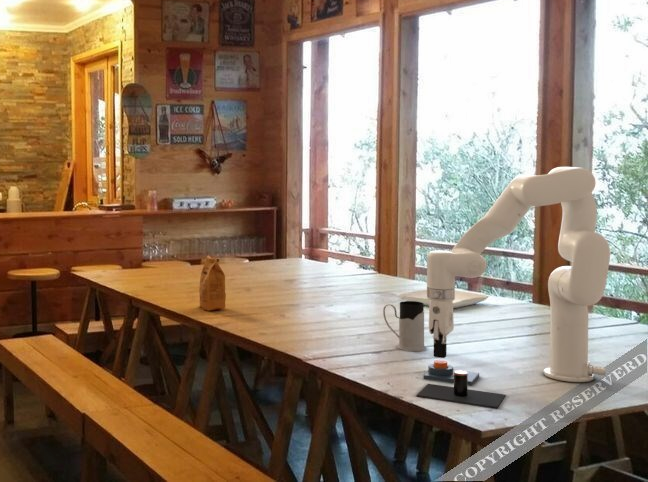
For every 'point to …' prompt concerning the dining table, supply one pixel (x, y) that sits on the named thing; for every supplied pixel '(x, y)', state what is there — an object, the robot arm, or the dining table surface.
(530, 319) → the dining table surface
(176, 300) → the dining table surface
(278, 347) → the dining table surface
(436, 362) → the button
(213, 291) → the coffee package
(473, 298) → the square plate
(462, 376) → the battery
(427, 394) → the desk pad
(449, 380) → the grey button base
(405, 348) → the glass holder
